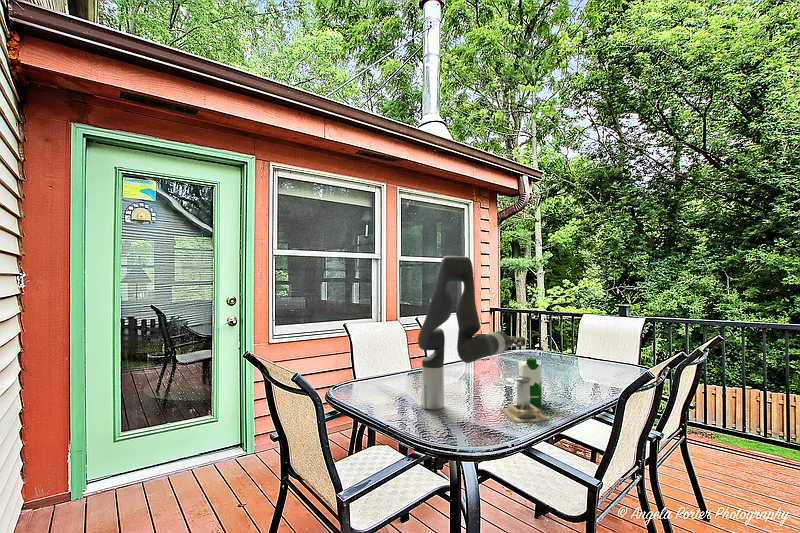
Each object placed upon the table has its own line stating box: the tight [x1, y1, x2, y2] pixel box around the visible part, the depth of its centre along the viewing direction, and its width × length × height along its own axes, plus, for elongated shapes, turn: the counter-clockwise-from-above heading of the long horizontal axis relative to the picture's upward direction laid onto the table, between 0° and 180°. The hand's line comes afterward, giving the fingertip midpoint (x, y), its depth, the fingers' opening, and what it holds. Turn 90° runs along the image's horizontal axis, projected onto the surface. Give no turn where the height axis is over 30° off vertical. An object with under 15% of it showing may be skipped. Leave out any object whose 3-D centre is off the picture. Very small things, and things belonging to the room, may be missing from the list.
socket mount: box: [499, 403, 550, 424], centre depth 163 cm, size 14×14×3 cm
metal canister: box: [515, 375, 531, 410], centre depth 163 cm, size 6×6×14 cm
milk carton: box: [518, 357, 543, 408], centre depth 178 cm, size 9×9×20 cm
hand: (511, 338), depth 156 cm, fingers open, 8 cm apart
